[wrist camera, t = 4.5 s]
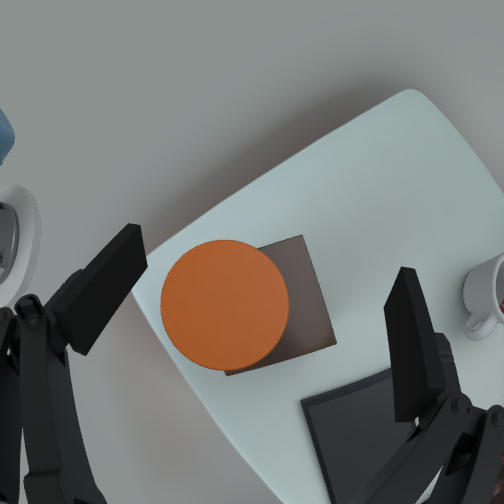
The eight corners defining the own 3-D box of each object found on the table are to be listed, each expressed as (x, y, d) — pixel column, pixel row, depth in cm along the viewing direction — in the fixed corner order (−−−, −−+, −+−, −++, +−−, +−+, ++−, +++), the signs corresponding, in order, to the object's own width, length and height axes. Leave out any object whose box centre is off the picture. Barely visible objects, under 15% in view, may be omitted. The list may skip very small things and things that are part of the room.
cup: (467, 355, 28) (504, 363, 20) (431, 315, 30) (467, 315, 22) (506, 288, 29) (544, 282, 21) (474, 248, 30) (511, 233, 23)
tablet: (334, 510, 26) (334, 515, 25) (300, 400, 30) (301, 403, 29) (420, 477, 26) (423, 481, 24) (400, 363, 29) (404, 365, 28)
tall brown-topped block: (247, 352, 31) (225, 376, 20) (226, 282, 33) (194, 268, 21) (318, 330, 31) (337, 343, 19) (296, 260, 33) (302, 234, 21)
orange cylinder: (249, 333, 20) (180, 382, 6) (237, 292, 21) (146, 261, 7) (291, 321, 20) (306, 350, 6) (279, 279, 21) (265, 222, 7)
